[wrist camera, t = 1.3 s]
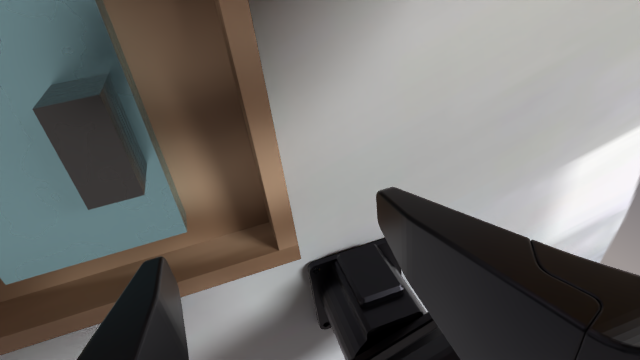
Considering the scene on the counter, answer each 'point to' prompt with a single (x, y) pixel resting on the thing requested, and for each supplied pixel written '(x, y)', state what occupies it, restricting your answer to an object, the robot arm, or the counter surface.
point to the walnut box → (181, 168)
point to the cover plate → (35, 161)
